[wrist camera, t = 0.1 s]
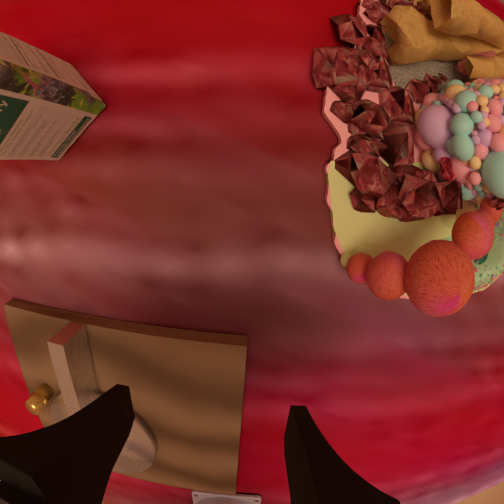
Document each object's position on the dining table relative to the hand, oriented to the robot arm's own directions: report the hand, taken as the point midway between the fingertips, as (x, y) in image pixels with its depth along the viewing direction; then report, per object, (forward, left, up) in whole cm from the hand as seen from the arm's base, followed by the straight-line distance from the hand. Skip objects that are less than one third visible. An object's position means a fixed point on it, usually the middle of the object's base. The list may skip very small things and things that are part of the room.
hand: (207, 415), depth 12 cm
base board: (-11, +10, -10) cm, 18 cm away
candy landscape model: (+15, -16, -10) cm, 25 cm away
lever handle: (-10, +11, -8) cm, 17 cm away
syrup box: (+15, +14, -10) cm, 22 cm away
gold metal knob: (-10, +17, -8) cm, 22 cm away
